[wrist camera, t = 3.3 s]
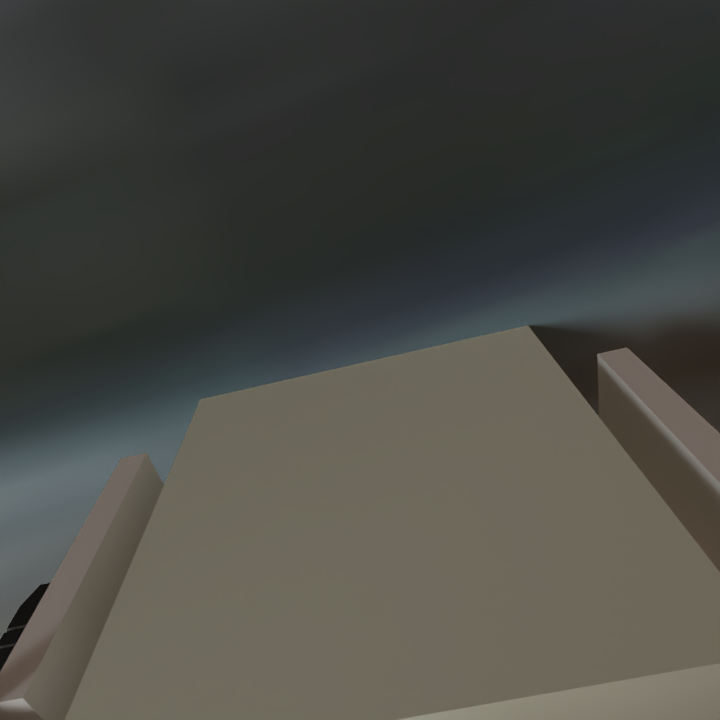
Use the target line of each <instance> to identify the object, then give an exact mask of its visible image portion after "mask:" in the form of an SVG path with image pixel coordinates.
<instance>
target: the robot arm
mask: <svg viewBox="0 0 720 720" xmlns="http://www.w3.org/2000/svg"><path fill="white" fill-rule="evenodd" d="M597 361H598V400H599V418H600V419H601V420H602V421H603V423H604V424H605V425H606V427H607V428H608V429H609V430H610V432H611V433H612V434H613V436H614V437H615V438H616V439H617V441H618V442H619V443H620V445H621V446H622V447H623V448H624V450H625V451H626V452H627V454H628V455H629V456H630V457H631V459H632V460H633V461H634V463H635V464H636V465H637V467H638V468H639V469H640V470H641V472H642V473H643V474H644V476H645V477H646V478H647V479H648V481H649V482H650V483H651V485H652V486H653V487H654V488H655V490H656V491H657V492H658V494H659V495H660V496H661V497H662V499H663V500H664V501H665V503H666V504H667V505H668V506H669V508H670V509H671V510H672V512H673V513H674V514H675V515H676V517H677V518H678V519H679V521H680V522H681V523H682V524H683V526H684V527H685V528H686V530H687V531H688V532H689V533H690V535H691V536H692V537H693V539H694V540H695V541H696V542H697V544H698V545H699V546H700V548H701V549H702V550H703V551H704V553H705V554H706V555H707V557H708V558H709V559H710V560H711V562H712V563H713V564H714V566H715V567H716V568H717V570H718V571H719V572H720V433H719V432H718V431H717V430H716V429H715V428H714V427H712V426H711V425H710V424H709V423H708V422H707V421H706V420H705V419H704V418H703V417H702V416H701V415H699V414H698V413H697V412H696V411H695V410H694V409H693V408H692V407H691V406H690V405H689V404H688V403H687V402H685V401H684V400H683V399H682V398H681V397H680V396H679V395H678V394H677V393H676V392H675V391H674V390H672V389H671V388H670V387H669V386H668V385H667V384H666V383H665V382H664V381H663V380H662V379H661V378H659V377H658V376H657V375H656V374H655V373H654V372H653V371H652V370H651V369H650V368H649V367H648V366H647V365H645V364H644V363H643V362H642V361H641V360H640V359H639V358H638V357H637V356H636V355H635V354H634V353H632V352H631V351H630V350H629V349H628V348H627V347H626V348H622V349H617V350H613V351H608V352H603V353H599V354H597ZM163 487H164V484H163V483H162V481H161V479H160V477H159V475H158V473H157V471H156V469H155V468H154V466H153V464H152V462H151V460H150V458H149V456H148V454H147V453H144V454H140V455H135V456H130V457H126V458H121V459H120V461H119V463H118V465H117V466H116V468H115V470H114V472H113V473H112V475H111V477H110V479H109V480H108V482H107V484H106V486H105V487H104V489H103V491H102V493H101V495H100V496H99V498H98V500H97V502H96V503H95V505H94V507H93V509H92V510H91V512H90V514H89V516H88V518H87V519H86V521H85V523H84V525H83V526H82V528H81V530H80V532H79V533H78V535H77V537H76V539H75V541H74V542H73V544H72V546H71V548H70V549H69V551H68V553H67V555H66V556H65V558H64V560H63V562H62V563H61V565H60V567H59V569H58V571H57V572H56V574H55V576H54V578H53V579H52V581H51V583H48V584H43V585H40V586H39V587H38V588H37V589H36V590H35V591H34V592H33V593H32V594H31V595H30V596H29V598H28V599H27V600H26V601H25V602H24V603H23V604H22V605H21V606H20V608H19V609H18V611H17V613H16V614H15V616H14V618H13V619H12V621H11V623H10V624H9V626H8V628H7V633H4V634H3V636H2V638H1V639H0V720H65V718H66V716H67V713H68V711H69V708H70V706H71V704H72V701H73V699H74V697H75V694H76V692H77V690H78V687H79V685H80V683H81V680H82V678H83V675H84V673H85V671H86V668H87V666H88V664H89V661H90V659H91V657H92V654H93V652H94V649H95V647H96V645H97V642H98V640H99V638H100V635H101V633H102V631H103V628H104V626H105V624H106V621H107V619H108V616H109V614H110V612H111V609H112V607H113V605H114V602H115V600H116V598H117V595H118V593H119V590H120V588H121V586H122V583H123V581H124V579H125V576H126V574H127V572H128V569H129V567H130V564H131V562H132V560H133V557H134V555H135V553H136V550H137V548H138V546H139V543H140V541H141V539H142V536H143V534H144V531H145V529H146V527H147V524H148V522H149V520H150V517H151V515H152V513H153V510H154V508H155V505H156V503H157V501H158V498H159V496H160V494H161V491H162V489H163Z"/></svg>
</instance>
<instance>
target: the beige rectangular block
mask: <svg viewBox="0 0 720 720" xmlns="http://www.w3.org/2000/svg"><path fill="white" fill-rule="evenodd" d="M65 720H720V572H719V571H718V570H717V568H716V567H715V566H714V564H713V563H712V562H711V560H710V559H709V558H708V557H707V555H706V554H705V553H704V551H703V550H702V549H701V548H700V546H699V545H698V544H697V542H696V541H695V540H694V539H693V537H692V536H691V535H690V533H689V532H688V531H687V530H686V528H685V527H684V526H683V524H682V523H681V522H680V521H679V519H678V518H677V517H676V515H675V514H674V513H673V512H672V510H671V509H670V508H669V506H668V505H667V504H666V503H665V501H664V500H663V499H662V497H661V496H660V495H659V494H658V492H657V491H656V490H655V488H654V487H653V486H652V485H651V483H650V482H649V481H648V479H647V478H646V477H645V476H644V474H643V473H642V472H641V470H640V469H639V468H638V467H637V465H636V464H635V463H634V461H633V460H632V459H631V457H630V456H629V455H628V454H627V452H626V451H625V450H624V448H623V447H622V446H621V445H620V443H619V442H618V441H617V439H616V438H615V437H614V436H613V434H612V433H611V432H610V430H609V429H608V428H607V427H606V425H605V424H604V423H603V421H602V420H601V419H600V418H599V416H598V415H597V414H596V412H595V411H594V410H593V409H592V407H591V406H590V405H589V403H588V402H587V401H586V400H585V398H584V397H583V396H582V394H581V393H580V392H579V391H578V389H577V388H576V387H575V385H574V384H573V383H572V382H571V380H570V379H569V378H568V376H567V375H566V374H565V373H564V371H563V370H562V369H561V367H560V366H559V365H558V364H557V362H556V361H555V360H554V358H553V357H552V356H551V354H550V353H549V352H548V351H547V349H546V348H545V347H544V345H543V344H542V343H541V342H540V340H539V339H538V338H537V336H536V335H535V334H534V333H533V331H532V330H531V329H530V327H529V326H528V325H527V326H523V327H519V328H514V329H510V330H505V331H501V332H496V333H492V334H488V335H483V336H479V337H474V338H470V339H465V340H461V341H457V342H452V343H448V344H443V345H439V346H434V347H430V348H426V349H421V350H417V351H412V352H408V353H403V354H399V355H395V356H390V357H386V358H381V359H377V360H372V361H368V362H364V363H359V364H355V365H350V366H346V367H341V368H337V369H333V370H328V371H324V372H319V373H315V374H311V375H306V376H302V377H297V378H293V379H288V380H284V381H280V382H275V383H271V384H266V385H262V386H257V387H253V388H249V389H244V390H240V391H235V392H231V393H226V394H222V395H218V396H213V397H209V398H204V399H200V402H199V404H198V406H197V409H196V411H195V413H194V416H193V418H192V420H191V423H190V425H189V428H188V430H187V432H186V435H185V437H184V439H183V442H182V444H181V446H180V449H179V451H178V454H177V456H176V458H175V461H174V463H173V465H172V468H171V470H170V472H169V475H168V477H167V479H166V482H165V484H164V487H163V489H162V491H161V494H160V496H159V498H158V501H157V503H156V505H155V508H154V510H153V513H152V515H151V517H150V520H149V522H148V524H147V527H146V529H145V531H144V534H143V536H142V539H141V541H140V543H139V546H138V548H137V550H136V553H135V555H134V557H133V560H132V562H131V564H130V567H129V569H128V572H127V574H126V576H125V579H124V581H123V583H122V586H121V588H120V590H119V593H118V595H117V598H116V600H115V602H114V605H113V607H112V609H111V612H110V614H109V616H108V619H107V621H106V624H105V626H104V628H103V631H102V633H101V635H100V638H99V640H98V642H97V645H96V647H95V649H94V652H93V654H92V657H91V659H90V661H89V664H88V666H87V668H86V671H85V673H84V675H83V678H82V680H81V683H80V685H79V687H78V690H77V692H76V694H75V697H74V699H73V701H72V704H71V706H70V708H69V711H68V713H67V716H66V718H65Z"/></svg>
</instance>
